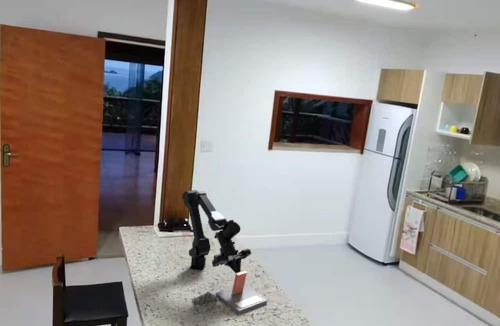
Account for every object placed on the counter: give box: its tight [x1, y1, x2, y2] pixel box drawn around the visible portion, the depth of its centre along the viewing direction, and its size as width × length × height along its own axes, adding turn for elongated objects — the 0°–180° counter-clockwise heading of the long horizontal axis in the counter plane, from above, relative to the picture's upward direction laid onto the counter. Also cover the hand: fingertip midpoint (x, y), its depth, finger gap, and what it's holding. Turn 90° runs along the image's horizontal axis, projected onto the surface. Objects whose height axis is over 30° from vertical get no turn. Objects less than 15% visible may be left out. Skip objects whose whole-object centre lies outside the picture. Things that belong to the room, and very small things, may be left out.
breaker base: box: [215, 284, 268, 315], centre depth 174 cm, size 16×16×2 cm
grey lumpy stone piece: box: [190, 291, 220, 314], centre depth 166 cm, size 11×8×4 cm
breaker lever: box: [231, 270, 248, 295], centre depth 174 cm, size 2×6×10 cm, turn 131°
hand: (239, 275), depth 174 cm, fingers closed, pressing on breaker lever
